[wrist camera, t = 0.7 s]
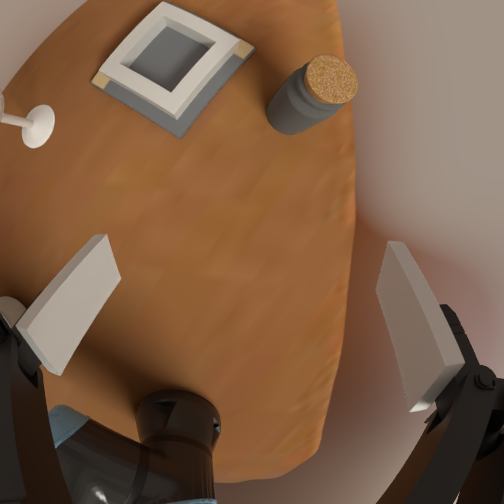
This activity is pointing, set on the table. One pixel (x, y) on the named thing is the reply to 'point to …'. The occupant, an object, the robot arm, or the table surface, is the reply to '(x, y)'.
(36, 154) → the table surface
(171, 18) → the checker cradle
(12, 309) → the teacup
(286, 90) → the bottle
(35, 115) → the champagne flute
